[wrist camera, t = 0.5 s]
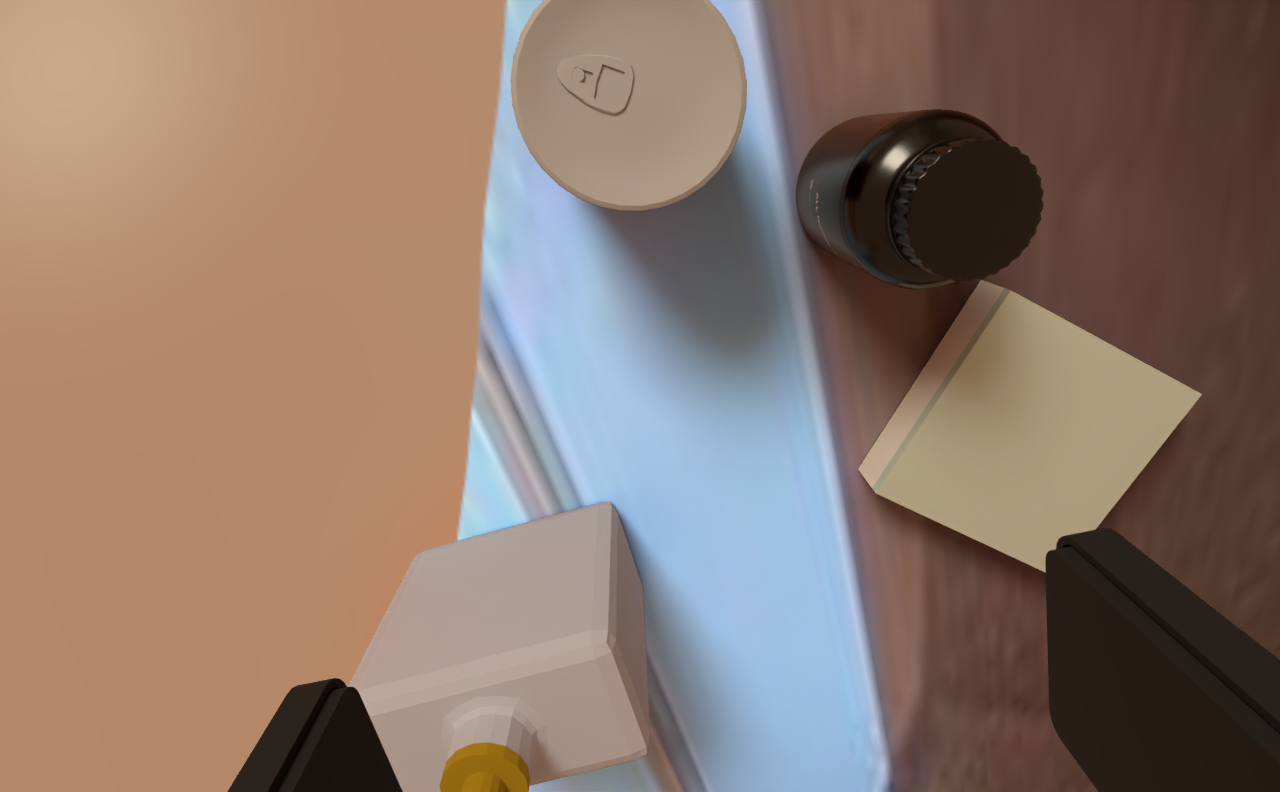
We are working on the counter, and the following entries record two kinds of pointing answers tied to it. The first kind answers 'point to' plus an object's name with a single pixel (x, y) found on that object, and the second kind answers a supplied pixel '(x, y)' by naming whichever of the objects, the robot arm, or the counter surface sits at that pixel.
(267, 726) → the robot arm
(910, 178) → the supplement bottle
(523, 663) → the soap bottle
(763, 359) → the counter surface
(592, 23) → the canned food
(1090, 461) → the plate
